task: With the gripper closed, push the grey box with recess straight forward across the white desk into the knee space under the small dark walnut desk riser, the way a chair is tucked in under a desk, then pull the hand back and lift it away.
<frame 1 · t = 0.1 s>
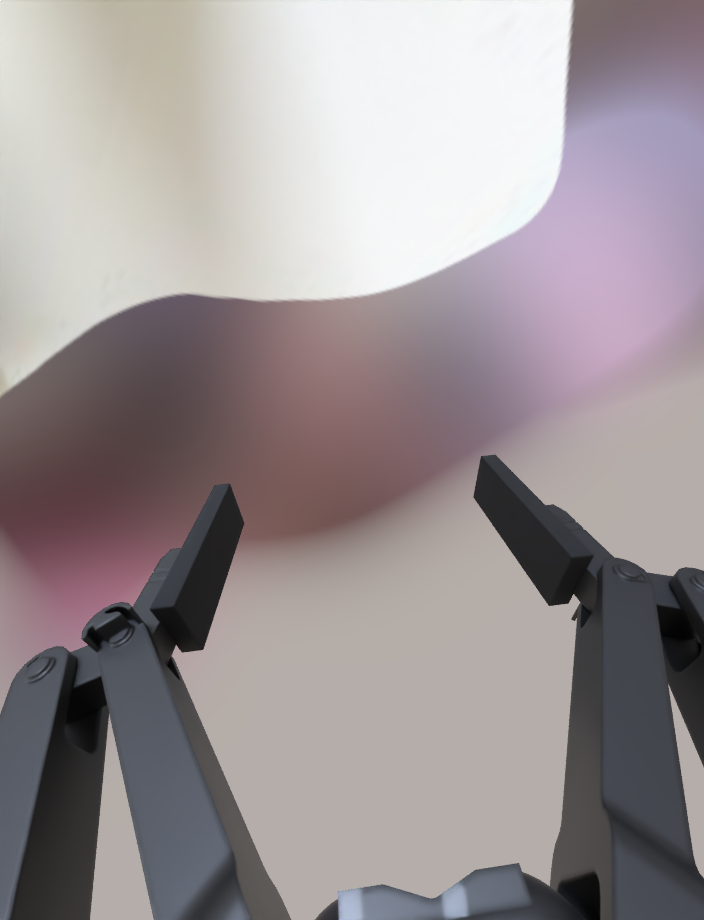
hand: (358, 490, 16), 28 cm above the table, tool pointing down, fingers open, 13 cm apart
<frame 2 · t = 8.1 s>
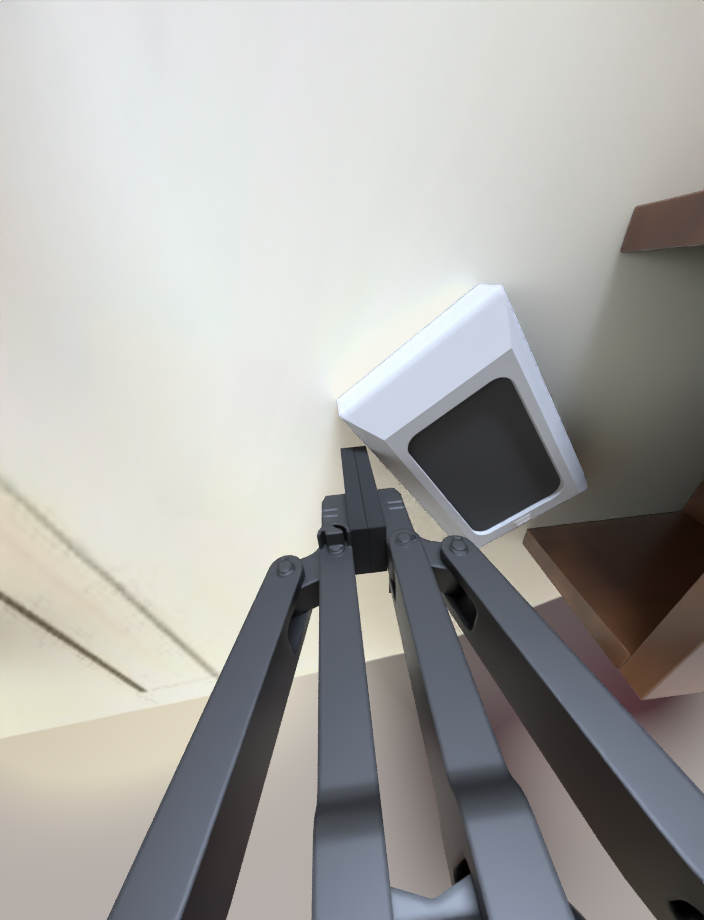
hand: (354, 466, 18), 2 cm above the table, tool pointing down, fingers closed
grey box with recess: (461, 435, 20), on the table, touching gripper
desk riser: (666, 415, 20), on the table
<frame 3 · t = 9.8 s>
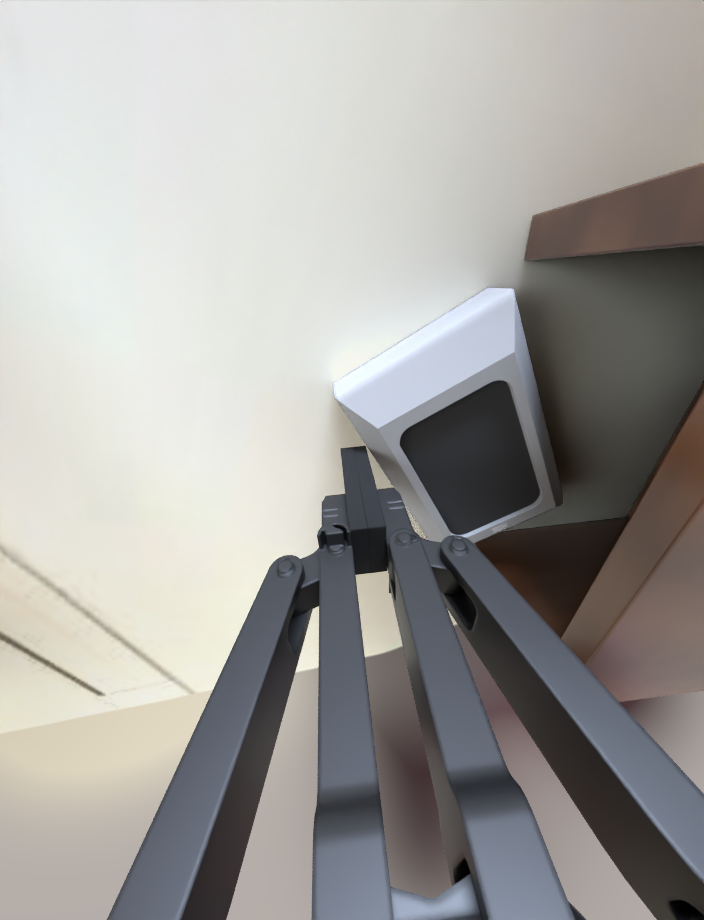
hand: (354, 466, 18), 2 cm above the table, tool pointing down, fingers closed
grey box with recess: (450, 437, 20), on the table, touching gripper
desk riser: (596, 422, 20), on the table
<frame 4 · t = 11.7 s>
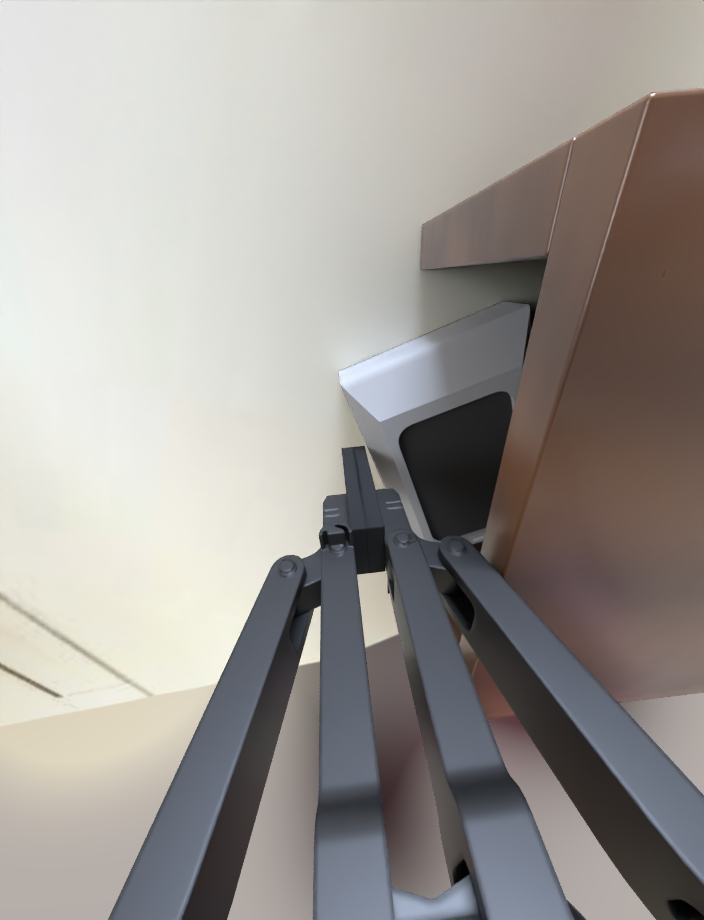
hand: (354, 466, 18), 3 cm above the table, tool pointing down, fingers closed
grey box with recess: (444, 444, 20), on the table
desk riser: (521, 430, 20), on the table
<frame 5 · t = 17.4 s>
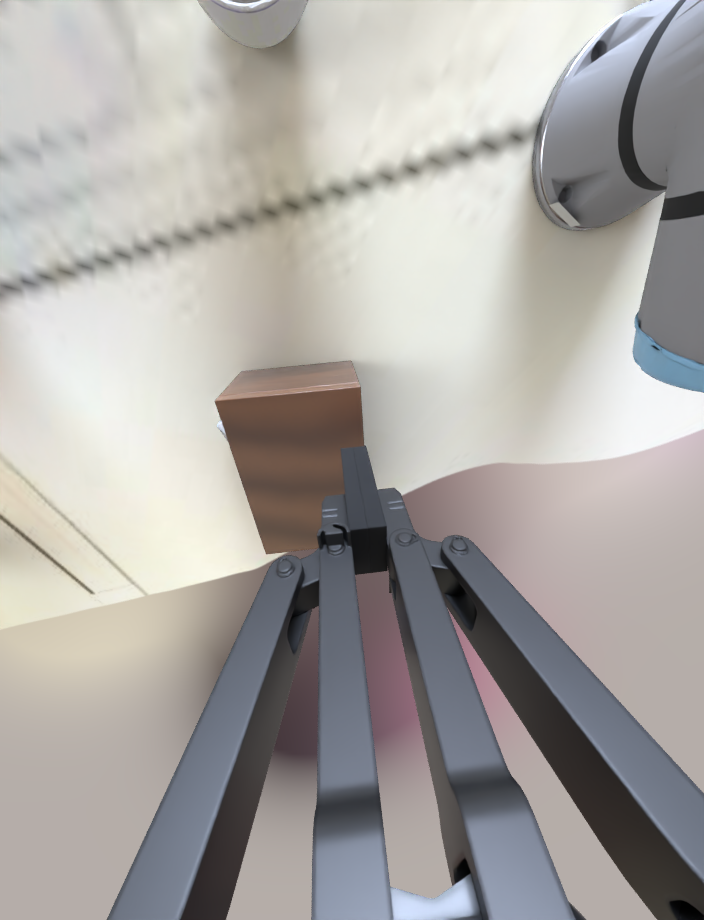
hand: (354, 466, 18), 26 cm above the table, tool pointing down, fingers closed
desk riser: (309, 440, 46), on the table
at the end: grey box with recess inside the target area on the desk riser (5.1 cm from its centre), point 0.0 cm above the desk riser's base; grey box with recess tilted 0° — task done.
